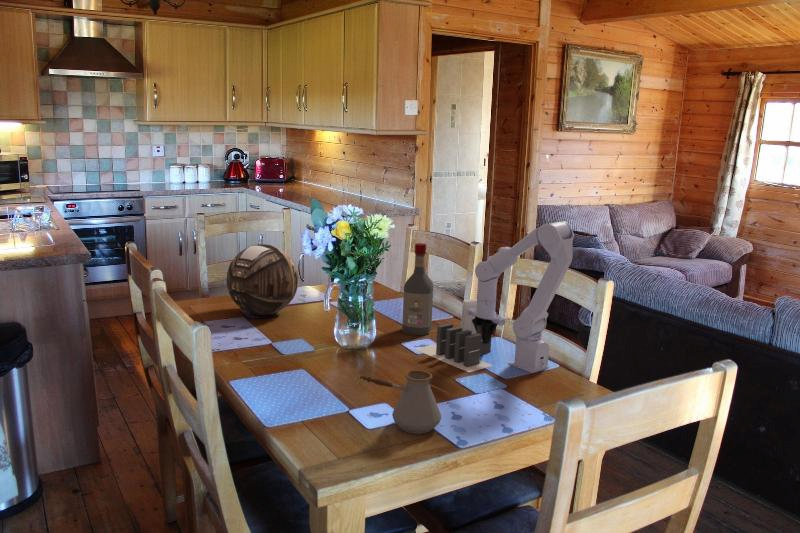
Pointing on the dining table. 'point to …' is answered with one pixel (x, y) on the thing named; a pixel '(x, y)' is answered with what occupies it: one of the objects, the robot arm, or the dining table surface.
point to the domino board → (432, 352)
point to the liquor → (418, 297)
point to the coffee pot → (414, 402)
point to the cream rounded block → (468, 316)
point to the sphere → (262, 279)
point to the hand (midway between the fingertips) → (483, 342)
